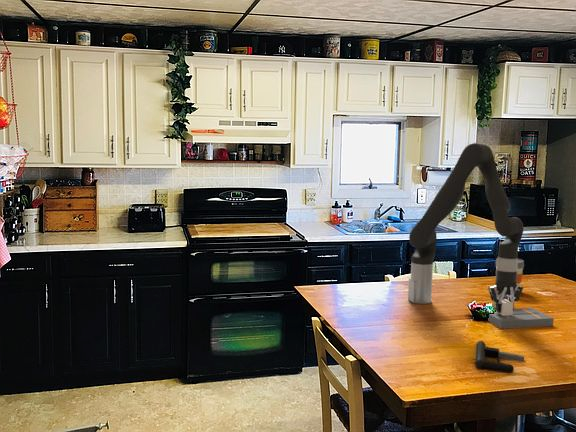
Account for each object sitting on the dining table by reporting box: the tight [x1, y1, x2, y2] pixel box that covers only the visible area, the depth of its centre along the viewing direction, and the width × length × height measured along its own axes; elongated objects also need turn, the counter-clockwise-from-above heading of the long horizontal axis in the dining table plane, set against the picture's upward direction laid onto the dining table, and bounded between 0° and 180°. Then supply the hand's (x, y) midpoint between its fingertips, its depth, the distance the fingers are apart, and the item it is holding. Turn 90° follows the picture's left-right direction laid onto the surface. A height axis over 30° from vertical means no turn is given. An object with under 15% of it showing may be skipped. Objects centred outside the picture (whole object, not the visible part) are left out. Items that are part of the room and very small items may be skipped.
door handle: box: [471, 340, 525, 374], centre depth 195 cm, size 3×20×16 cm
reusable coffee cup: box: [494, 257, 525, 286], centre depth 281 cm, size 13×13×15 cm
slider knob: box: [496, 299, 514, 316], centre depth 234 cm, size 4×5×5 cm
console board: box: [487, 307, 555, 330], centre depth 236 cm, size 22×14×3 cm, turn 101°
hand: (504, 311), depth 235 cm, fingers closed on slider knob, 4 cm apart
